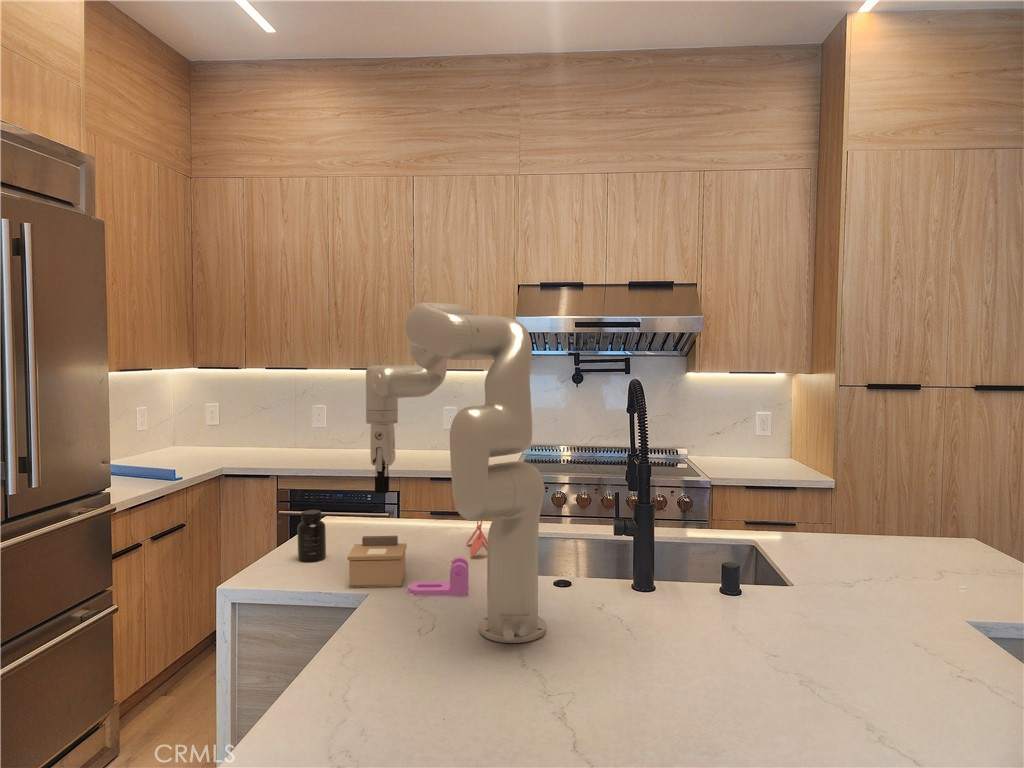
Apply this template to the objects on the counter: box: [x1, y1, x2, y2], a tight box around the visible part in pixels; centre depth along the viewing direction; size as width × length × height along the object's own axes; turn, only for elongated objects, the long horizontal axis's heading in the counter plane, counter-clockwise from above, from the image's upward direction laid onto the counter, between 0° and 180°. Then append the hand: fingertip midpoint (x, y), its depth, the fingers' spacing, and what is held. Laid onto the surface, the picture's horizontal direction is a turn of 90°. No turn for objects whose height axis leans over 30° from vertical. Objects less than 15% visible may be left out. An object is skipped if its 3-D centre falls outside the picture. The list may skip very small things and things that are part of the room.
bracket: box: [407, 556, 469, 596], centre depth 150 cm, size 13×6×7 cm, turn 91°
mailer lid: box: [346, 535, 408, 561], centre depth 156 cm, size 10×12×3 cm
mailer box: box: [348, 552, 406, 588], centre depth 157 cm, size 9×11×6 cm
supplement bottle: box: [296, 509, 327, 563], centre depth 173 cm, size 7×7×12 cm
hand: (382, 492), depth 166 cm, fingers closed
